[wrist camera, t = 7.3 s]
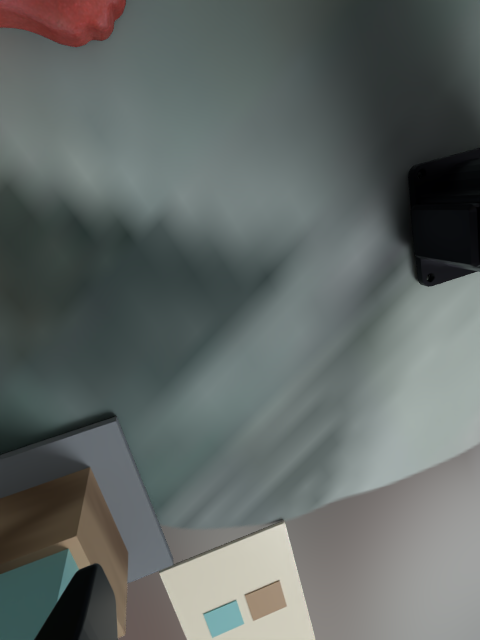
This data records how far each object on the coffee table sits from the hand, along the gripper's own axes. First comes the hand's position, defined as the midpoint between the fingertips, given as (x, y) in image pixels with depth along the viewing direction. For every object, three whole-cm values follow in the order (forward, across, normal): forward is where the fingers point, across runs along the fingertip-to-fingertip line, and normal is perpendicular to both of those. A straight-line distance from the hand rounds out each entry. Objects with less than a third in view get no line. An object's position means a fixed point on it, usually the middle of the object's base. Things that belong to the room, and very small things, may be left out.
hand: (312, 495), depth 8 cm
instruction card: (+12, +3, +19) cm, 23 cm away
